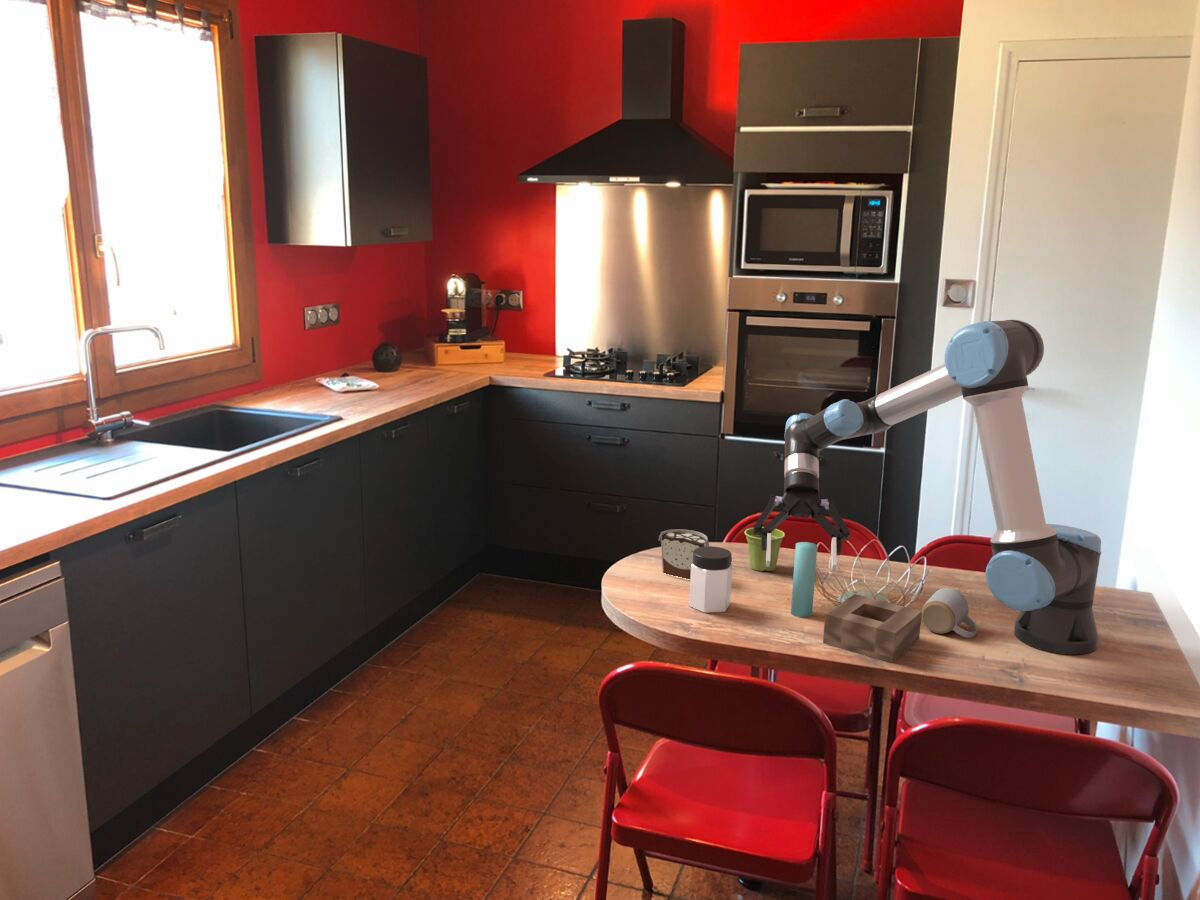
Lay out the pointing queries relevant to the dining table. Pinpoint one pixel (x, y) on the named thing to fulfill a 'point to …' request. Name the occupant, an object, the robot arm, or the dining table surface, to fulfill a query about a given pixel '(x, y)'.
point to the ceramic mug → (948, 613)
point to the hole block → (872, 627)
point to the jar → (710, 579)
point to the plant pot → (758, 555)
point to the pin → (804, 579)
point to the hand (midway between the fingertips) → (800, 566)
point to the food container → (680, 550)
